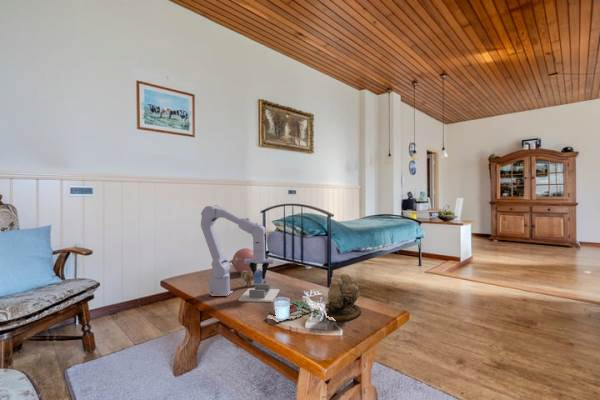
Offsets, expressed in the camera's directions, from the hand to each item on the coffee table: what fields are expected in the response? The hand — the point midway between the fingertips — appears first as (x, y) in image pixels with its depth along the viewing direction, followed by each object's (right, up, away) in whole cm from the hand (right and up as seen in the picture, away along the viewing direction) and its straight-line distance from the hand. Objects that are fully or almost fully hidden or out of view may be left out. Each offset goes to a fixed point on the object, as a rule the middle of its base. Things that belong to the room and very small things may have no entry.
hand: (259, 278), depth 146 cm
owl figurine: (+37, -9, -23) cm, 45 cm away
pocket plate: (0, -8, 0) cm, 8 cm away
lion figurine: (-5, -8, +16) cm, 19 cm away
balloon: (-16, -8, +40) cm, 43 cm away
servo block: (0, -2, 0) cm, 2 cm away
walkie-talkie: (+16, -9, -23) cm, 30 cm away
